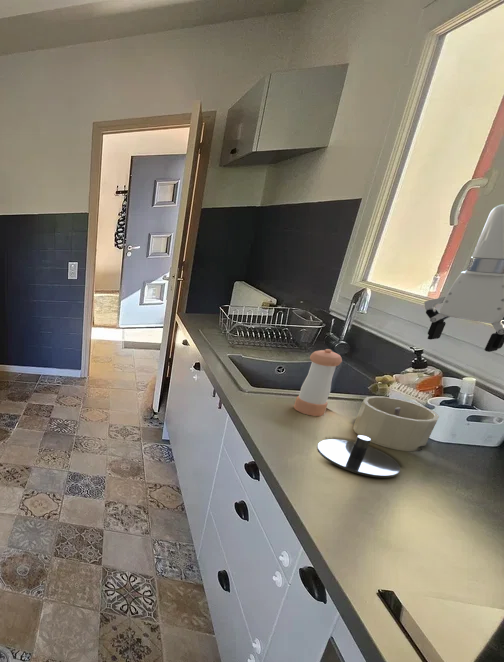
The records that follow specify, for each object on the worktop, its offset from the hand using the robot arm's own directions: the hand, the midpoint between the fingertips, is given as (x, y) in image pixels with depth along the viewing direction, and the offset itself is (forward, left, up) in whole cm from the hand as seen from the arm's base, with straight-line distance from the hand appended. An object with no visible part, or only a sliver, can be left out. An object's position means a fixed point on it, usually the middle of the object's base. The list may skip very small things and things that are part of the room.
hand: (460, 344), depth 87 cm
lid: (-1, +22, -26) cm, 34 cm away
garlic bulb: (+4, +3, -26) cm, 26 cm away
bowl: (+4, +3, -26) cm, 27 cm away
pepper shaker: (+21, +8, -27) cm, 35 cm away
